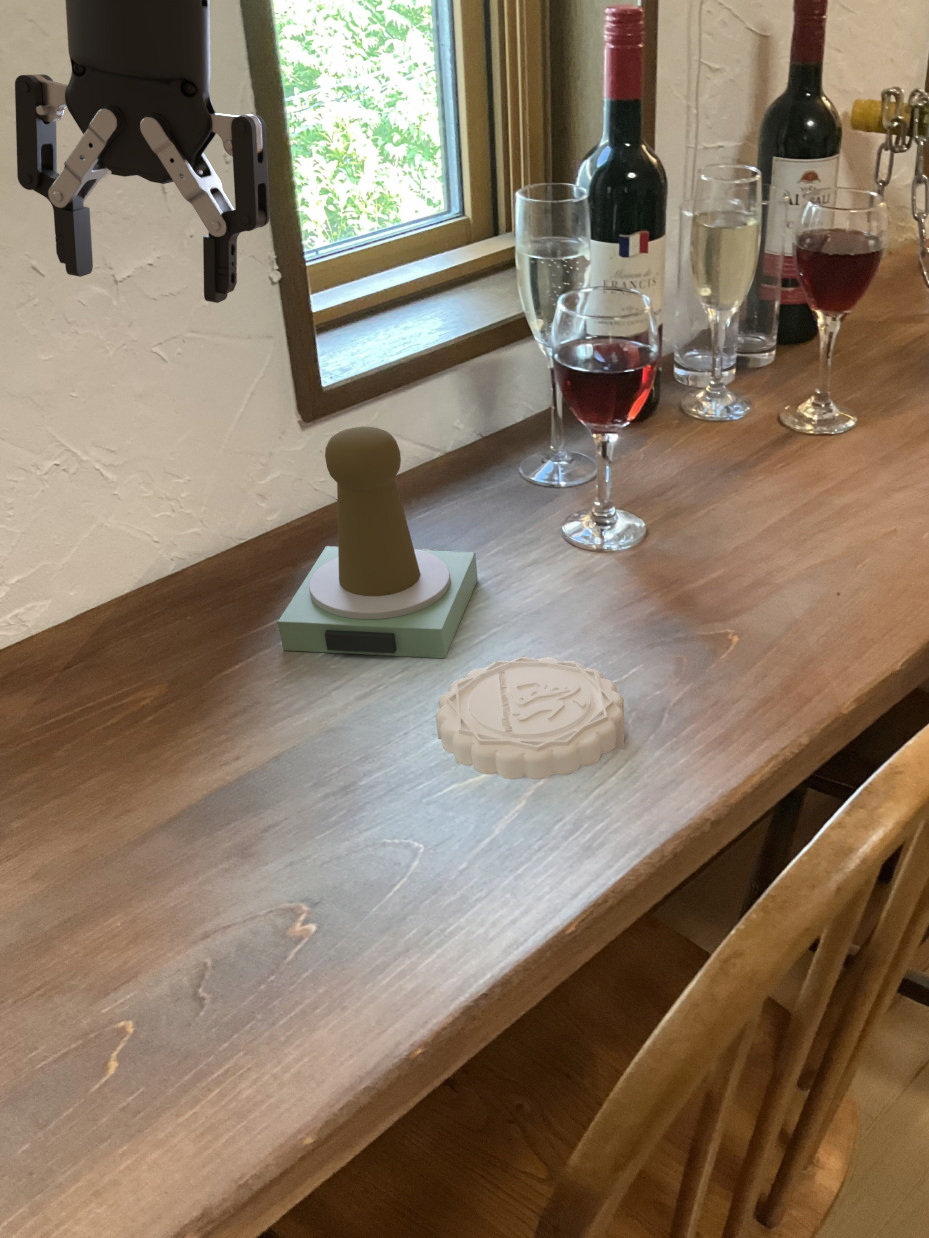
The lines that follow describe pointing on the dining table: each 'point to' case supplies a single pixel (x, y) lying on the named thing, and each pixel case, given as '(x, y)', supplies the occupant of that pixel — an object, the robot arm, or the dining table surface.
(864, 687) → the dining table surface
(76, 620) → the dining table surface
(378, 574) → the cork
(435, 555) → the scale
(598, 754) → the mooncake
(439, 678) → the dining table surface
